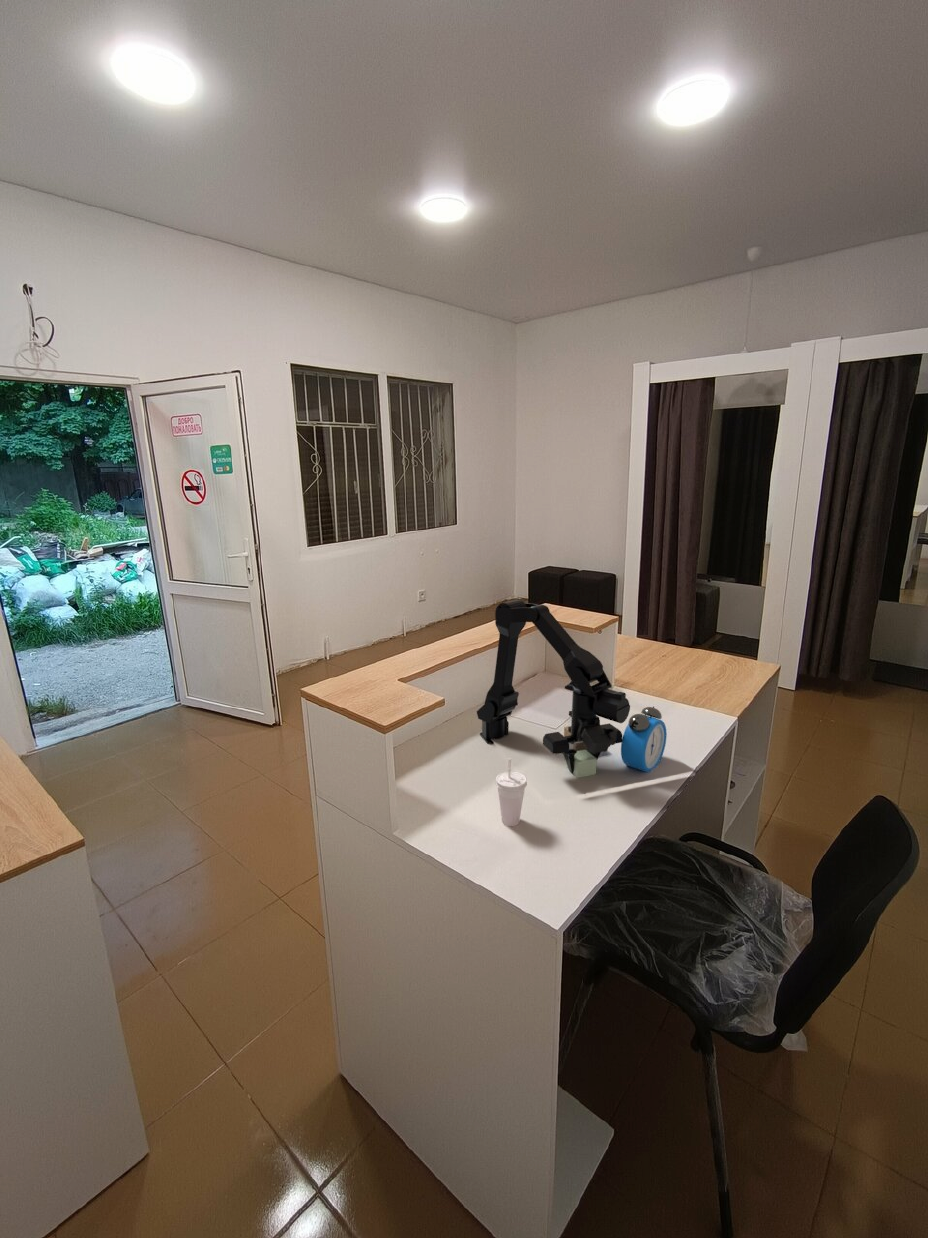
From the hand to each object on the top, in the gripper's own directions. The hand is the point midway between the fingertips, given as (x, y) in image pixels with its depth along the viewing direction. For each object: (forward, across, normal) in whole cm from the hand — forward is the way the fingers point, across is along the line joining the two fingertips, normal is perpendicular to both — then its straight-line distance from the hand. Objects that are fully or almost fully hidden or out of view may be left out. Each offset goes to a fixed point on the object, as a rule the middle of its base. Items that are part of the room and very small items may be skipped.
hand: (581, 770), depth 136 cm
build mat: (+1, +6, +11) cm, 13 cm away
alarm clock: (+1, +16, -2) cm, 16 cm away
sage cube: (+1, 0, 0) cm, 1 cm away
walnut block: (0, +6, +11) cm, 13 cm away
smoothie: (+1, -24, -12) cm, 27 cm away
